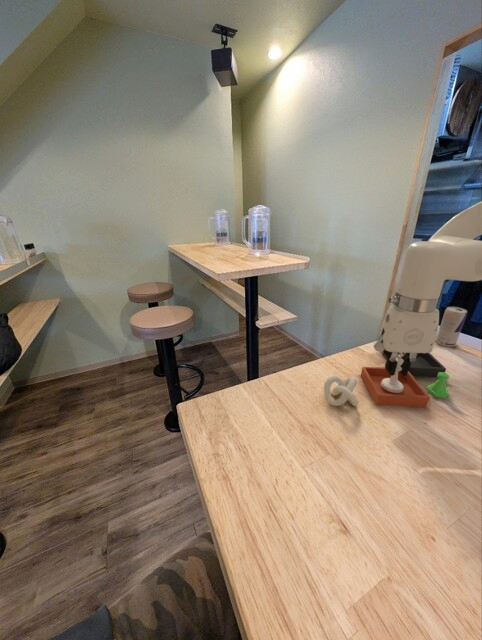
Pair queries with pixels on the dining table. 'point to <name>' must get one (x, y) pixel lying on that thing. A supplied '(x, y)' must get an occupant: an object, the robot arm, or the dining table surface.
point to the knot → (340, 390)
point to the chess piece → (394, 378)
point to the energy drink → (451, 326)
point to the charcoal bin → (425, 366)
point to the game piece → (439, 386)
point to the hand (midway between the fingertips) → (395, 371)
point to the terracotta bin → (408, 397)
